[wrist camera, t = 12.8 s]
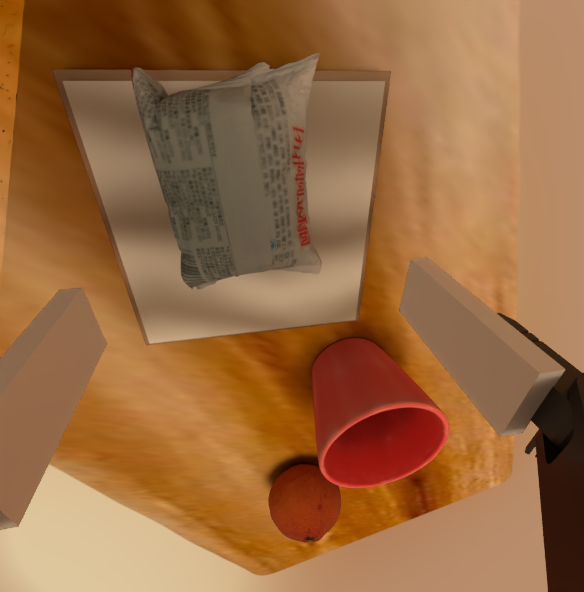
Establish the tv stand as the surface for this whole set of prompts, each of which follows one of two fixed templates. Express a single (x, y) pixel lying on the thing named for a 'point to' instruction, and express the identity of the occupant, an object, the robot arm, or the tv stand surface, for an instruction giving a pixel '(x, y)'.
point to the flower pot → (371, 417)
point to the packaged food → (234, 170)
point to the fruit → (304, 503)
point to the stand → (160, 236)
